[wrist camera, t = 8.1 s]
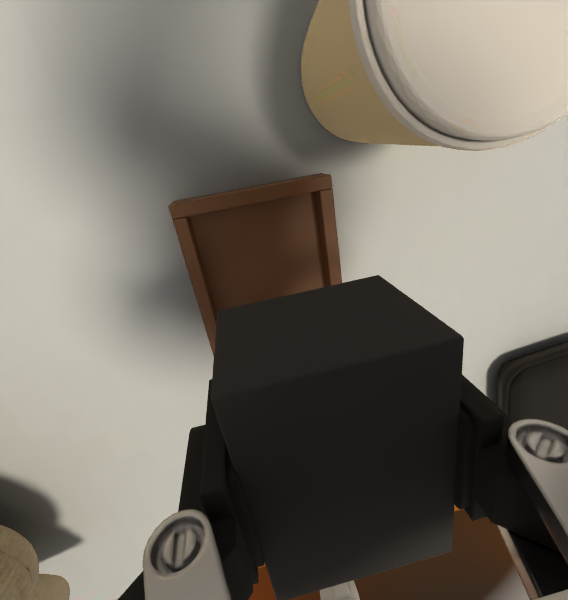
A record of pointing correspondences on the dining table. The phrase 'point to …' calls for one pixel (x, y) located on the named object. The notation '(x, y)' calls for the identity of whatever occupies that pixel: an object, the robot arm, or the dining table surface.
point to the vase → (25, 572)
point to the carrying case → (536, 386)
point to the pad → (340, 429)
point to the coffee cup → (437, 70)
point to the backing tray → (258, 243)
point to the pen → (340, 592)
